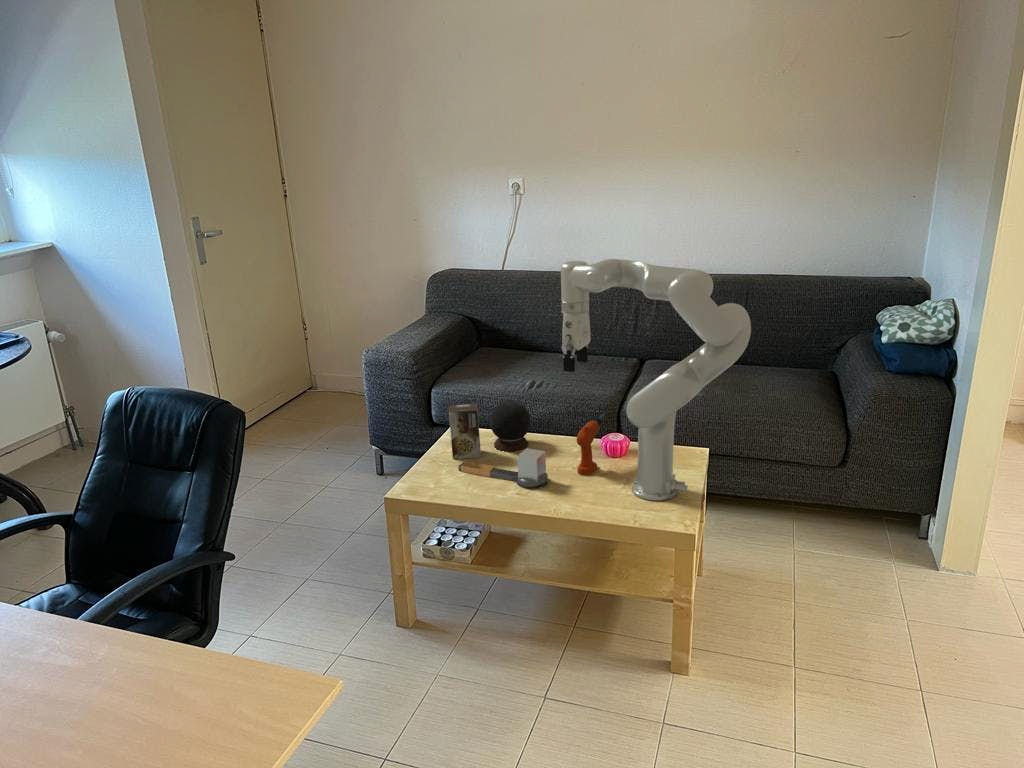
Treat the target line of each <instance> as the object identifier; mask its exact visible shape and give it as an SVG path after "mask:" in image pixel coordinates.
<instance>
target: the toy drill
mask: <svg viewBox="0 0 1024 768" xmlns="http://www.w3.org/2000/svg"><path fill="white" fill-rule="evenodd" d="M606 415H607V413H606V412H603V413H601V415H600V416H599V417H596V418H594V419H593V420H590V421H588V422H587V423H586V424H585V425H584V426H583V427H582V428H581V429H580V430H579V432H578V434H577V435H576V443H577V445H578V446H580V453H581V455H580V462H579V464H578V467H577V474H578V475H581V476H589V475H592V474H593V473H595V472H596V471H597V469H598V464H597V462H594V461H593V449H592V446H593V445H592V444H593V442H594V439H595V438H596V435H597V434H598V432H599V429H600V427H601V425H602V420H603V419H604V417H606Z"/></svg>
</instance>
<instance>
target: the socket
mask: <svg viewBox="0 0 1024 768" xmlns="http://www.w3.org/2000/svg"><path fill="white" fill-rule="evenodd" d="M546 457H547V456H546V450H541V449H540V450H539V449H533V448H528V447H527V448H526V449H524V450H522V451H521V452H520V453H519V454H518V455H517V472H518V478H519V479H525V480H530V481H536V482H538V481H539V480H540V479H541V478H542V477H543V476H544V475H545V474H546V473H547V469H546V468H547V466H546V464H547V463H546V462H547V461H546Z"/></svg>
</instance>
